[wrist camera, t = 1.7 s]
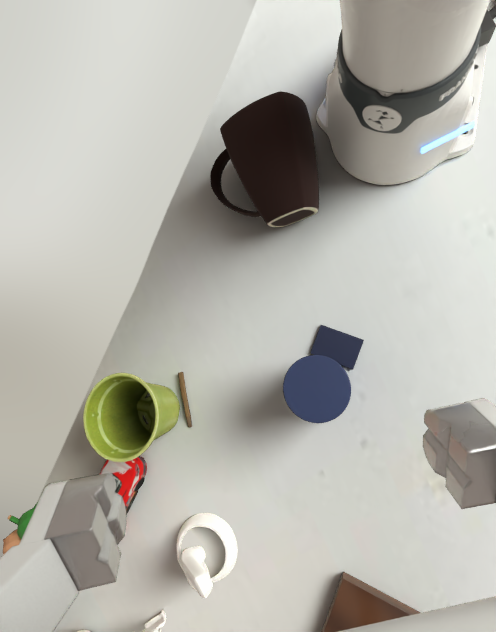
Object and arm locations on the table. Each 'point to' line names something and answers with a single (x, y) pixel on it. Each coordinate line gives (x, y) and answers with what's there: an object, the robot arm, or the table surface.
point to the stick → (184, 398)
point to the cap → (322, 377)
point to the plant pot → (127, 416)
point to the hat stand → (361, 606)
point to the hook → (195, 556)
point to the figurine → (17, 534)
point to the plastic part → (150, 623)
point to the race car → (127, 478)
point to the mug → (272, 159)
